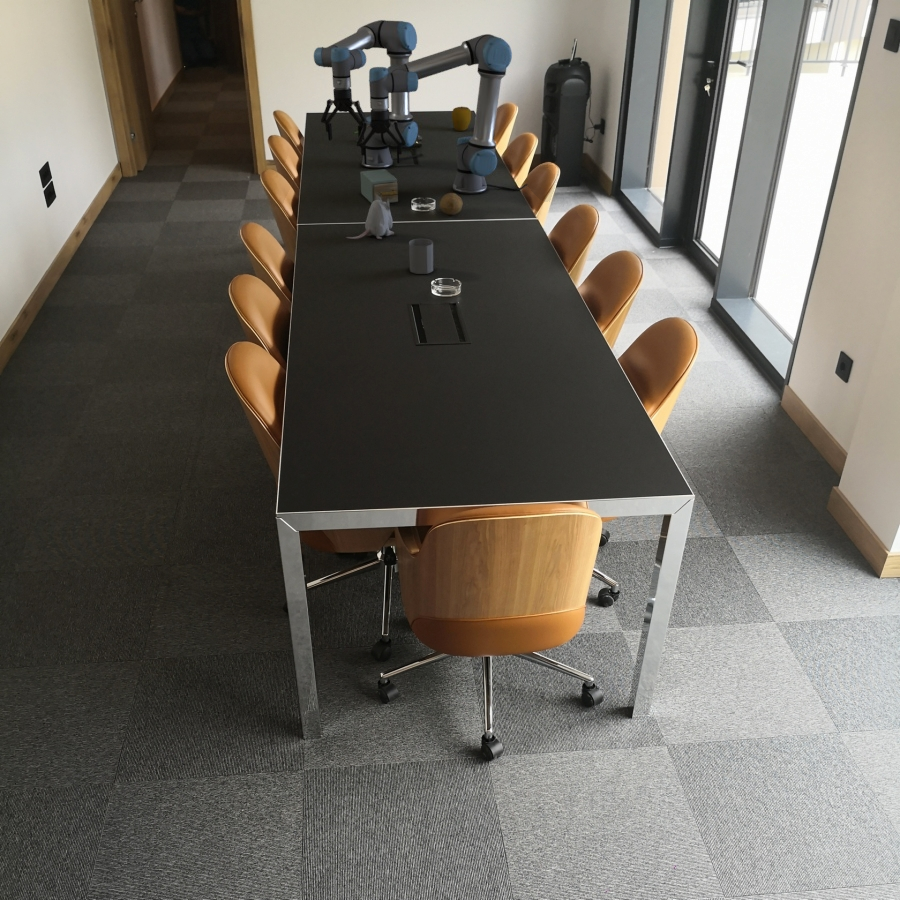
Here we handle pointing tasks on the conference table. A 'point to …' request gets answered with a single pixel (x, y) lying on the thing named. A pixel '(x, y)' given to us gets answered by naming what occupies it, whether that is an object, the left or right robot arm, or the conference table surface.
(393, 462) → the conference table surface
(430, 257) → the cup
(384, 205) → the toy
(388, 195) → the drawer
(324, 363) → the conference table surface
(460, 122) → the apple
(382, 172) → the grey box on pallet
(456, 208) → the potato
